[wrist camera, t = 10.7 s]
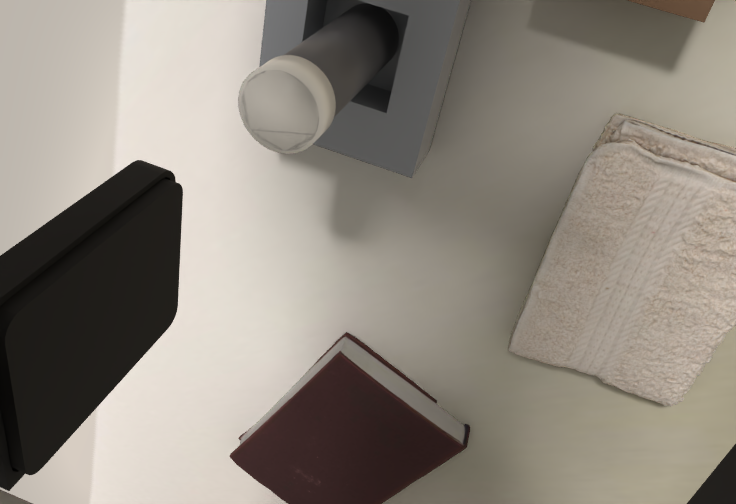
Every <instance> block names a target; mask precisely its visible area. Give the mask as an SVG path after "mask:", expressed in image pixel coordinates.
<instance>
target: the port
mask: <svg viewBox="0 0 736 504" xmlns="http://www.w3.org/2000/svg"><path fill="white" fill-rule="evenodd" d="M365 3H368V4H372V5H375V6H378V7H381V8H383V9H384V10H385V11H387V12H388V13H389V14H390V15H391V17H392V18H393V20H394V21H395V23H396V26H397V29H398V33H399V44H398V48H397V51H396V53H395V55H394V56H393V58H392V59H391V60H390V61H389V62H388V63H387V64H386V65H385V66H384V67H383V68H382V69H381V70H380V71H379V72H378V73H377V74H376V75H375V76H374V77H373V78H372V79H371V80H370V81H369V82H368V83H367V84H366V85H365V86H364V87H363V89H362V90H361V91H360V92H359V93H358V94H357V95H356V96H355V97H354V98H353V99H352V100H351V101H350V102H349V103H348V104H347V105H346V106H345V107H344V108H343V109H342V110H341V111H340V112H339V113H338V114H337V115H336V116H335V117H334V118H333V121H332V123H331V124H330V126H329V127H328V129H327V130H326V131H325V132H324V133H323V134H322V135H321V136H320V137H319V138H318V139H317V140H316V141H315V142H314V143H313V144H314V145H317V146H320V147H323V148H326V149H329V150H331V151H334V152H337V153H340V154H343V155H346V156H349V157H352V158H355V159H358V160H361V161H364V162H366V163H369V164H372V165H375V166H378V167H381V168H384V169H387V170H390V171H393V172H396V173H399V174H402V175H404V176H407V177H410V178H413V176H414V174H415V173H416V171H417V169H418V168H419V166H420V165H421V163H422V161H423V160H424V158H425V156H426V155H427V153H428V152H429V150H430V146H431V142H432V139H433V135H434V132H435V128H436V124H437V121H438V117H439V114H440V110H441V107H442V103H443V99H444V96H445V92H446V89H447V85H448V81H449V78H450V74H451V71H452V67H453V64H454V60H455V56H456V53H457V49H458V46H459V42H460V38H461V35H462V31H463V28H464V24H465V21H466V17H467V13H468V10H469V6H470V3H471V0H267V1H266V10H265V20H264V29H263V39H262V48H261V57H260V67H261V66H262V65H264V64H265V63H267V62H268V61H269V60H271V59H273V58H275V57H278V56H283V55H284V54H286V53H287V52H289V51H290V50H291V49H293V48H294V47H296V46H297V45H299V44H300V43H302V42H303V41H304V40H306V39H307V38H309V37H310V36H312V35H313V34H314V33H316V32H317V31H319V30H320V29H322V28H323V27H324V26H326V25H327V24H329V23H330V22H332V21H333V20H334V19H336V18H337V17H339V16H340V15H342V14H343V13H345V12H346V11H347V10H349V9H350V8H352V7H354V6H356V5H358V4H365Z"/></svg>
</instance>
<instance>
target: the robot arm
mask: <svg viewBox="0 0 736 504" xmlns="http://www.w3.org/2000/svg"><path fill="white" fill-rule="evenodd" d="M182 198H183V190H182V186H181V185H180V184H179V183H176V182H175V176H174V174H173V173H172V172H171V171H169V170H166V169H163V168H161V167H158V166H155V165H152V164H150V163H147V162H144V161H141V160H137V161H135V162H133V163H131V164H130V165H128V166H127V167H125V168H124V169H123V170H121V171H120V172H118V173H117V174H116V175H114V176H113V177H111V178H110V179H108V180H107V181H106V182H104V183H103V184H101V185H100V186H98V187H97V188H96V189H94V190H93V191H91V192H90V193H89V194H87V195H86V196H84V197H83V198H81V199H80V200H79V201H77V202H76V203H74V204H73V205H72V206H70V207H69V208H67V209H66V210H64V211H63V212H62V213H60V214H59V215H58V216H56V217H55V218H53V219H52V220H50V221H49V222H47V223H46V224H45V225H43V226H42V227H41V228H39V229H38V230H36V231H35V232H34V233H32V234H31V235H29V236H28V237H27V238H25V239H24V240H22V241H21V242H19V243H18V244H16V245H15V246H13V247H12V248H11V249H9V250H8V251H6V252H5V253H4V254H2V255H1V256H0V487H1V488H4V489H6V490H8V491H10V489H11V488H12V487H13V486H14V485H15V484H16V483H17V482H18V481H19V480H20V478H21V477H22V476H23V475H24V474H25V473H26V474H28V475H33V474H35V473H37V472H38V471H39V470H40V469H41V468H42V467H43V466H44V465H45V464H46V463H47V462H48V461H49V460H50V458H51V457H52V456H53V455H54V454H55V453H56V452H57V451H58V450H59V448H60V447H61V446H62V445H63V444H64V443H65V442H66V441H67V439H69V438H70V436H71V435H72V434H73V433H74V432H75V431H76V430H77V429H78V428H79V426H80V425H81V424H82V423H83V422H84V421H85V420H86V419H87V418H88V416H89V415H90V414H91V413H92V412H93V411H94V410H95V409H96V408H97V406H98V405H99V404H100V403H101V402H102V401H103V400H104V399H105V398H106V396H107V395H108V394H109V393H110V392H111V391H112V390H113V389H114V388H115V387H116V385H117V384H118V383H119V382H120V381H121V380H122V379H123V378H124V377H125V375H126V374H127V373H128V372H129V371H130V370H131V369H132V368H133V367H134V365H135V364H136V363H137V362H138V361H139V360H140V359H141V358H142V357H143V355H144V354H145V353H146V352H147V351H148V350H149V349H150V348H151V347H152V346H153V344H154V343H155V342H156V341H157V340H158V339H159V338H160V337H161V336H162V334H163V333H164V332H165V331H166V330H167V329H168V328H169V326H170V325H171V323H172V322H173V320H174V318H175V315H176V312H177V307H178V287H179V264H180V242H181V220H182ZM0 504H32V503H30V502H27V501H25V500H23V499H21V498H18V497H16V496H14V495H11V494H9V493H7V492H4V491H2V490H0ZM687 504H736V444H735V445H734V446H733V448H732V449H731V450H730V451H729V453H728V454H727V455H726V456H725V457H724V459H723V460H722V461H721V462H720V464H719V465H718V466H717V467H716V469H715V470H714V471H713V472H712V473H711V475H710V476H709V477H708V478H707V480H706V481H705V482H704V483H703V484H702V486H701V487H700V488H699V489H698V491H697V492H696V493H695V494H694V496H693V497H692V498H691V499H690V500H689V502H688V503H687Z"/></svg>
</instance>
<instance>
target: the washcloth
mask: <svg viewBox="0 0 736 504" xmlns="http://www.w3.org/2000/svg"><path fill="white" fill-rule="evenodd" d="M735 325H736V148H734V147H729V146H726V145H721V144H717V143H711V142H708V141H703V140H700V139H697V138H694V137H692V136H689V135H686V134H684V133H681V132H678V131H676V130H672V129H669V128H664V127H662V126H659V125H655V124H653V123H649V122H645V121H642V120H639V119H636V118H632V117H630V116H625V115H622V114H615V115H613V116H612V117H611V119H610V122H609V123H608V124H607V125H606V126H605V128H604V132H603V133H602V134H601V137H600V139H599V140H598V141H597V142H596V143H595V145H594V146H593V152H592V153H591V154H590V155H589V156H588V157H587V159H586V162H585V164H584V166H583V167H582V169H581V171H580V172H579V174H578V178H577V179H576V181H575V184H574V186H573V188H572V191H571V193H570V195H569V197H568V199H567V202H566V204H565V207H564V209H563V212H562V214H561V216H560V219H559V220H558V223H557V226H556V228H555V230H554V232H553V234H552V237H551V239H550V242H549V244H548V246H547V248H546V251H545V253H544V256H543V258H542V261H541V263H540V266H539V268H538V271H537V273H536V275H535V278H534V282H533V284H532V286H531V287H530V290H529V293H528V295H527V297H526V298H525V301H524V303H523V306H522V308H521V310H520V312H519V315H518V317H517V319H516V322H515V325H514V328H513V331H512V333H511V337H510V342H509V346H508V351H510V352H514V353H516V354H517V355H521V356H523V357H526V358H530V359H531V360H533V359H535V360H537V361H540V362H542V363H546V364H551V365H554V366H560V367H567V368H571V369H575V370H577V371H578V372H582V373H586V374H589V375H596V376H597V377H599V378H600V379H601V381H602V382H603V383H605V384H609V385H611V386H616V387H617V388H619V389H621V390H624V391H625V392H627V393H632V394H636V395H637V396H639V397H644V398H646V399H649V400H653V401H655V402H657V403H661V404H663V405H665V406H668V405H669V406H672V405H674V404H675V405H676V404H678V402H682V401H683V399H684V397H683V395H684V394H685V393H686V392H688V390H689V389H690V388H691V387H692V384H693V383H694V380H695V379H696V378H697V376H699V375H700V374H701V372H702V371H703V369H704V367H705V364H706V363H709V361H710V360H711V358H712V355H713V353H714V352H715V351H716V348H717V347H718V346H719V345H720V344H721V343H722V342H723V340H724V338H725V336H726V334H727V333H728V332H729V331H730V330H731V329H732V328H733V327H734V326H735Z"/></svg>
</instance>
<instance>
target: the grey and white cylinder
mask: <svg viewBox="0 0 736 504" xmlns="http://www.w3.org/2000/svg"><path fill="white" fill-rule="evenodd" d="M398 44H399V33H398V29H397V26H396V23H395V21H394V20H393V18H392V17H391V15H390V14H389V13H388V12H387V11H385V10H384V9H383V8H381V7H378V6H375V5H372V4H368V3H365V4H358V5H356V6H354V7H352V8H350V9H349V10H347V11H346V12H345V13H343V14H342V15H340V16H339V17H337V18H336V19H334V20H333V21H332V22H330V23H329V24H327V25H326V26H324V27H323V28H322V29H320V30H319V31H317V32H316V33H314V34H313V35H312V36H310V37H309V38H307V39H306V40H304V41H303V42H302V43H300V44H299V45H297V46H296V47H294V48H293V49H291V50H290V51H289V52H287V53H286V54H284V55H283V56H278V57H275V58H273V59H271V60H269V61H268V62H267V63H265V64H264V65H262V66H261V67H259V68H258V69H256V70H255V71H253V72H252V73H251V74H249V76H248V77H247V78H246V79H245V80H244V82H243V84H242V86H241V88H240V92H239V97H238V105H239V112H240V116H241V118H242V121H243V123H244V125H245V127H246V129H247V130H248V132H249V133H250V134H251V135H252V137H253V138H254V139H255V140H256V141H258V142H259V143H260V144H261V145H263V146H264V147H266V148H268V149H270V150H272V151H275V152H278V153H283V154H294V153H298V152H301V151H304V150H306V149H307V148H309V147H310V146H311V145H312V144H313V143H314V142H315V141H316V140H317V139H318V138H319V137H320V136H321V135H322V134H323V133H324V132H325V131H326V130H327V129H328V127H329V126H330V124H331V123H332V121H333V118H334V117H335V116H336V115H337V114H338V113H339V112H340V111H341V110H342V109H343V108H344V107H345V106H346V105H347V104H348V103H349V102H350V101H351V100H352V99H353V98H354V97H355V96H356V95H357V94H358V93H359V92H360V91H361V90H362V89H363V87H364V86H365V85H366V84H367V83H368V82H369V81H370V80H371V79H372V78H373V77H374V76H375V75H376V74H377V73H378V72H379V71H380V70H381V69H382V68H383V67H384V66H385V65H386V64H387V63H388V62H389V61H390V60H391V59H392V58H393V56H394V55H395V53H396V51H397V48H398Z"/></svg>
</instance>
